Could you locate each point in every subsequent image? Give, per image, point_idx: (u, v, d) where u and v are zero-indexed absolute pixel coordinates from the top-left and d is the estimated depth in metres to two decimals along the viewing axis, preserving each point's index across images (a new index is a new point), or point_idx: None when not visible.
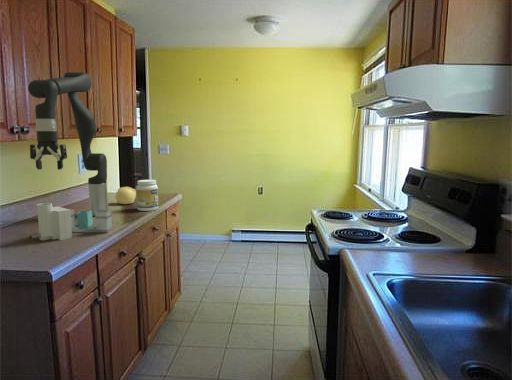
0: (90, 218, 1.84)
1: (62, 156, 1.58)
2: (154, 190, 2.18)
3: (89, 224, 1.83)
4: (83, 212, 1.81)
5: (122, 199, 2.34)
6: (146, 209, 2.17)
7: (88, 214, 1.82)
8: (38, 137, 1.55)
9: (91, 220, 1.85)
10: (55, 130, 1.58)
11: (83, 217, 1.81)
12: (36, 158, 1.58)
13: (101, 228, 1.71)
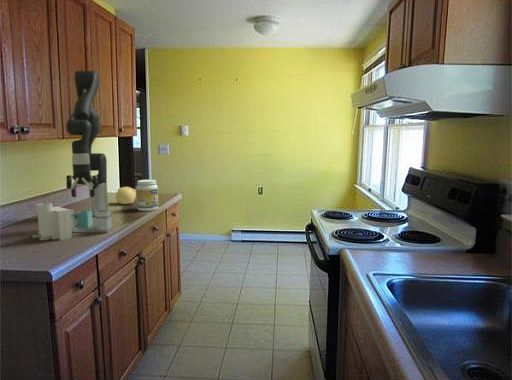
0: (90, 218, 1.84)
1: (94, 186, 1.80)
2: (154, 190, 2.18)
3: (89, 224, 1.83)
4: (83, 212, 1.81)
5: (122, 199, 2.34)
6: (146, 209, 2.17)
7: (88, 214, 1.82)
8: (74, 169, 1.77)
9: (91, 220, 1.85)
10: (89, 163, 1.80)
11: (83, 217, 1.81)
12: (72, 187, 1.80)
13: (101, 228, 1.71)
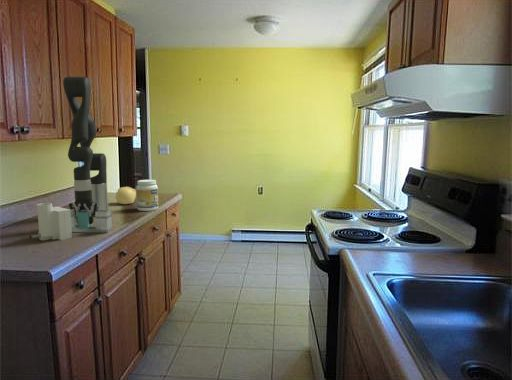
0: None
1: (93, 213, 1.82)
2: (154, 190, 2.18)
3: (89, 224, 1.83)
4: (83, 212, 1.81)
5: (122, 199, 2.34)
6: (146, 209, 2.17)
7: (88, 214, 1.82)
8: (76, 196, 1.79)
9: None
10: (90, 189, 1.81)
11: (83, 217, 1.81)
12: (76, 215, 1.82)
13: (101, 228, 1.71)
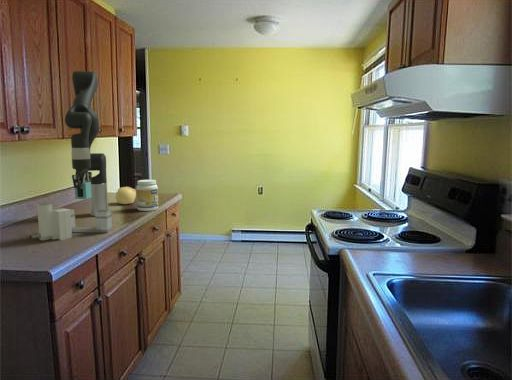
0: None
1: None
2: (154, 190, 2.18)
3: (77, 196, 1.69)
4: None
5: (122, 199, 2.34)
6: (146, 209, 2.17)
7: None
8: None
9: (83, 194, 1.69)
10: (76, 158, 1.66)
11: None
12: None
13: (101, 228, 1.71)
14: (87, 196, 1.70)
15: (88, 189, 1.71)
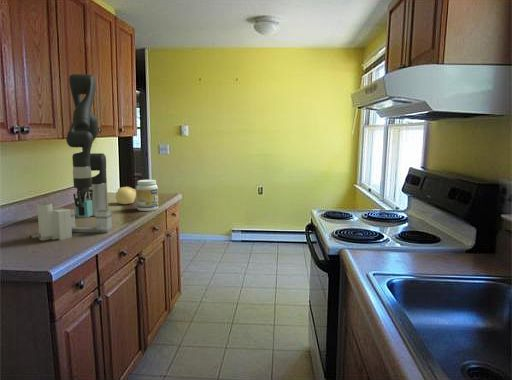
0: None
1: None
2: (154, 190, 2.18)
3: (78, 214, 1.70)
4: None
5: (122, 199, 2.34)
6: (146, 209, 2.17)
7: None
8: None
9: (84, 212, 1.70)
10: (78, 177, 1.67)
11: None
12: None
13: (101, 228, 1.71)
14: (88, 214, 1.71)
15: (89, 207, 1.72)
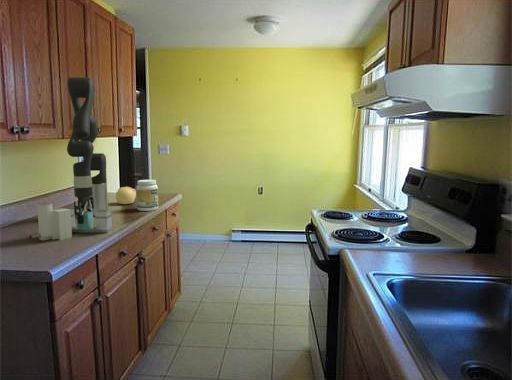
0: None
1: None
2: (154, 190, 2.18)
3: (80, 226, 1.71)
4: None
5: (122, 199, 2.34)
6: (146, 209, 2.17)
7: None
8: None
9: (85, 224, 1.71)
10: (79, 187, 1.67)
11: None
12: None
13: (101, 228, 1.71)
14: (89, 226, 1.72)
15: (90, 219, 1.73)
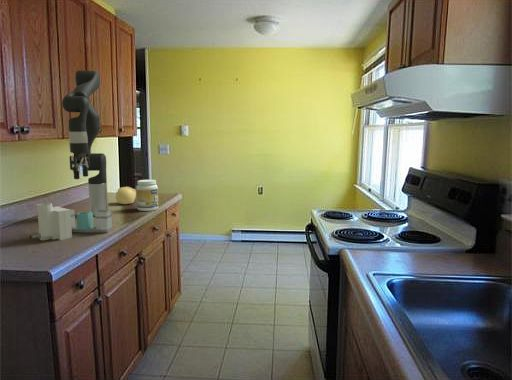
0: (83, 221, 1.71)
1: None
2: (154, 190, 2.18)
3: (80, 226, 1.71)
4: (80, 213, 1.73)
5: (122, 199, 2.34)
6: (146, 209, 2.17)
7: (79, 216, 1.71)
8: None
9: (85, 224, 1.71)
10: (74, 142, 1.68)
11: None
12: None
13: (101, 228, 1.71)
14: (89, 226, 1.72)
15: (90, 219, 1.73)
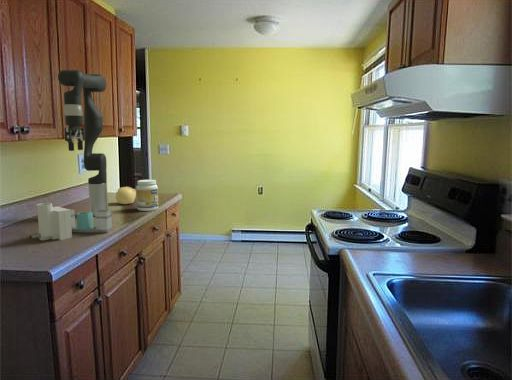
0: (83, 221, 1.71)
1: None
2: (154, 190, 2.18)
3: (80, 226, 1.71)
4: (80, 213, 1.73)
5: (122, 199, 2.34)
6: (146, 209, 2.17)
7: (79, 216, 1.71)
8: None
9: (85, 224, 1.71)
10: (69, 114, 1.73)
11: None
12: None
13: (101, 228, 1.71)
14: (89, 226, 1.72)
15: (90, 219, 1.73)
